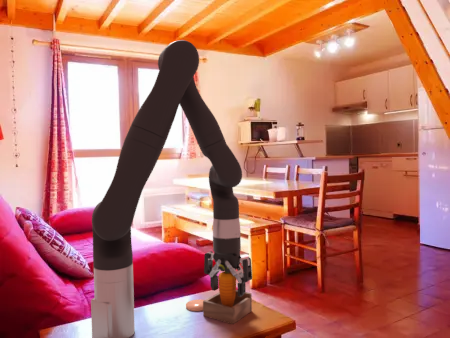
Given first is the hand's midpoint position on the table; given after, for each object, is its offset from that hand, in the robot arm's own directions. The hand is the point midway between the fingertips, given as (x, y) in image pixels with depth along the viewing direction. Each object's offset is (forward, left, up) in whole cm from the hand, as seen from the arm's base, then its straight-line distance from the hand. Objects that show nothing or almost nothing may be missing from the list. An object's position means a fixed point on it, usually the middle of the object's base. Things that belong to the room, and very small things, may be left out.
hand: (227, 292), depth 103 cm
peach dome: (-1, +10, -6) cm, 12 cm away
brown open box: (0, 0, -6) cm, 6 cm away
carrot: (0, 0, -6) cm, 6 cm away
